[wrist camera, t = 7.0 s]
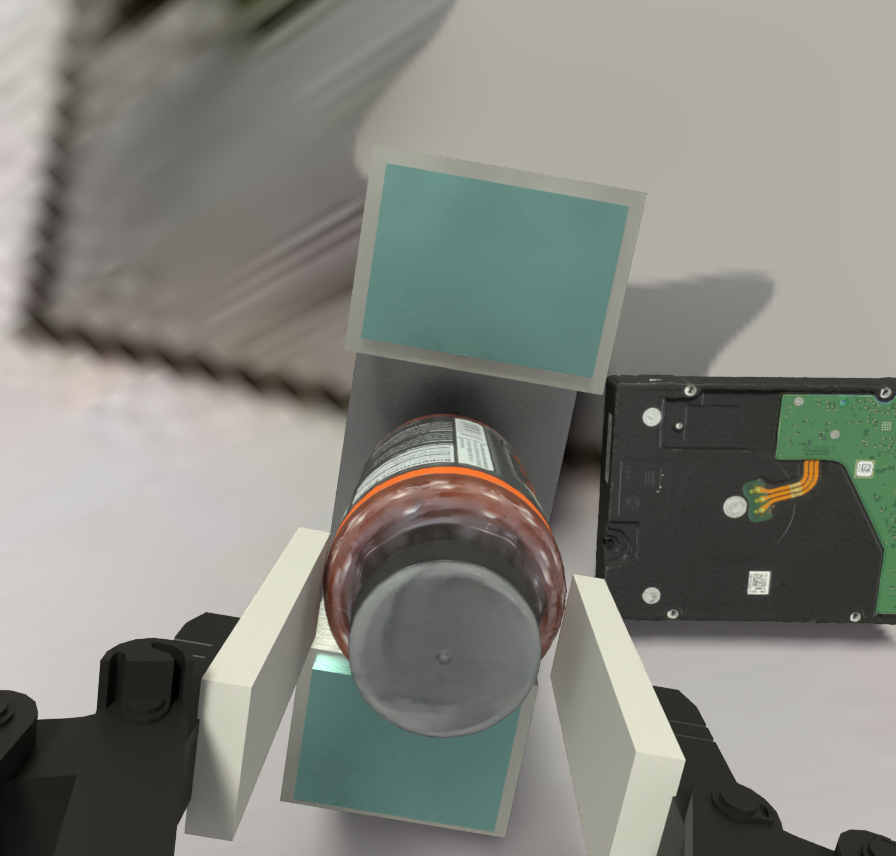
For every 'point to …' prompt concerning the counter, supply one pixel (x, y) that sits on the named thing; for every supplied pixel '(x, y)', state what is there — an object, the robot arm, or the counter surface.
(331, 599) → the supplement bottle
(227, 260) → the counter surface
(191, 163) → the counter surface
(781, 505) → the disk drive
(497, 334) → the rail
